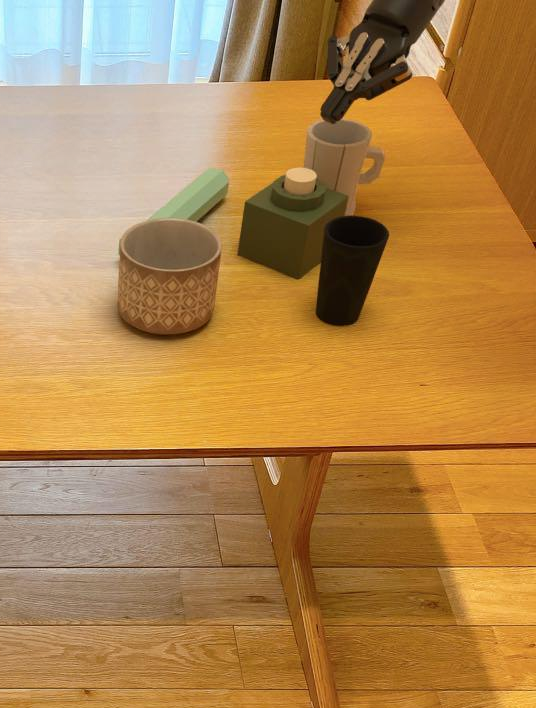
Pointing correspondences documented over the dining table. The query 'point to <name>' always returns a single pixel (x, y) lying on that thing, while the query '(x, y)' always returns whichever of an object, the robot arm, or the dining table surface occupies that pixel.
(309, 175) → the cream push button
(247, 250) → the green push button box
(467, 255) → the dining table surface
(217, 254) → the planter
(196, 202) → the pale green long bar
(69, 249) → the dining table surface
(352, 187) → the cup
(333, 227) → the cup
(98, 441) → the dining table surface
